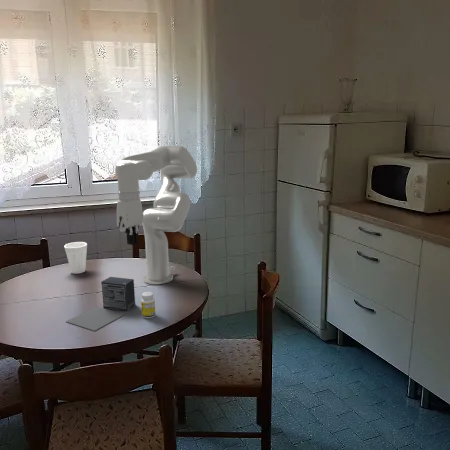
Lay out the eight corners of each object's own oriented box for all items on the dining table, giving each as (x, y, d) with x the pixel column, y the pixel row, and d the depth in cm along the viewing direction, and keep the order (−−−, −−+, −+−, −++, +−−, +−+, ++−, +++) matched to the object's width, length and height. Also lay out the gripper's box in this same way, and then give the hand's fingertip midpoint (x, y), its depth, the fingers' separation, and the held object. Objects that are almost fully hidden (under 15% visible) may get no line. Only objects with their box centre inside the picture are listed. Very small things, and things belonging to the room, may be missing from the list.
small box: (136, 304, 167) (134, 278, 164) (127, 311, 161) (125, 284, 158) (112, 301, 170) (110, 275, 168) (102, 308, 164) (100, 281, 162)
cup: (68, 269, 207) (65, 242, 204) (90, 267, 209) (87, 241, 206) (65, 276, 197) (62, 248, 194) (89, 274, 200) (86, 246, 197)
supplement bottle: (142, 313, 159) (141, 291, 157) (156, 312, 160) (154, 290, 158) (141, 319, 155) (140, 296, 153) (155, 318, 155) (153, 296, 153)
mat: (96, 307, 165) (96, 306, 165) (124, 315, 158) (124, 314, 158) (66, 322, 153) (65, 321, 153) (94, 331, 146) (94, 330, 146)
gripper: (135, 192, 172) (138, 237, 176) (106, 198, 159) (110, 247, 163) (150, 193, 168) (153, 240, 172) (122, 200, 155) (125, 250, 160)
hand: (132, 243), depth 168 cm, fingers closed
